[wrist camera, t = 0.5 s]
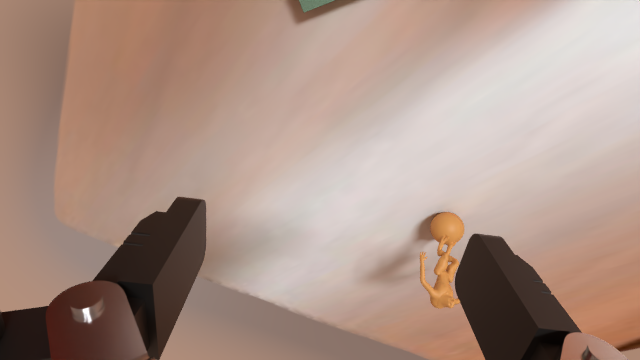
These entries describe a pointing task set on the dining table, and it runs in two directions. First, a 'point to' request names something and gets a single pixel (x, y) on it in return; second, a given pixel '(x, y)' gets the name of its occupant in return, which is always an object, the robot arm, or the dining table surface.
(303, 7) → the board
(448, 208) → the dining table surface
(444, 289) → the figurine
